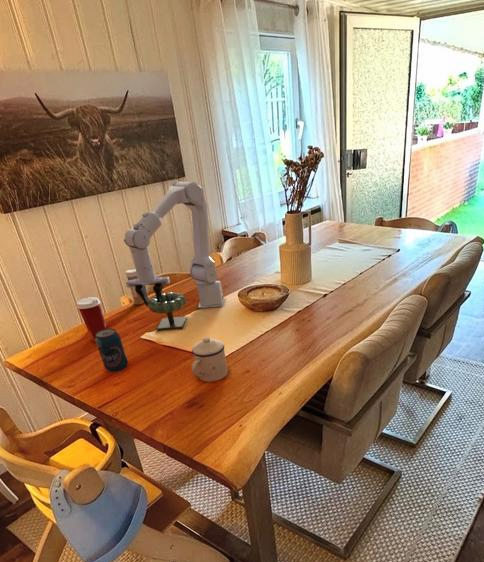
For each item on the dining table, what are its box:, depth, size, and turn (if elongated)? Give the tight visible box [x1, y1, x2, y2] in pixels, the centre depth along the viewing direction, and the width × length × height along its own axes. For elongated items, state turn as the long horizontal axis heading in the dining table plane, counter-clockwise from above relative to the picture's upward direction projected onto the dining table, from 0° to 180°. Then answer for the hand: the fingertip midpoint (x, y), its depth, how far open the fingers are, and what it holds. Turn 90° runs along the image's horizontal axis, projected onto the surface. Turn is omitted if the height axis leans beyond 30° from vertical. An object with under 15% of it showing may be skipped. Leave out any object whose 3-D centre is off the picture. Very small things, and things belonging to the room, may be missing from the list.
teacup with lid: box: [190, 336, 229, 383], centre depth 121 cm, size 12×9×12 cm
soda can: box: [95, 327, 129, 373], centre depth 129 cm, size 7×7×12 cm
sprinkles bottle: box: [125, 268, 145, 306], centre depth 175 cm, size 5×5×13 cm
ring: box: [146, 291, 187, 314], centre depth 152 cm, size 13×13×4 cm
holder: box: [156, 312, 187, 332], centre depth 155 cm, size 9×9×6 cm
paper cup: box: [76, 296, 108, 343], centre depth 148 cm, size 8×8×14 cm
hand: (153, 304), depth 152 cm, fingers closed on ring, 4 cm apart
